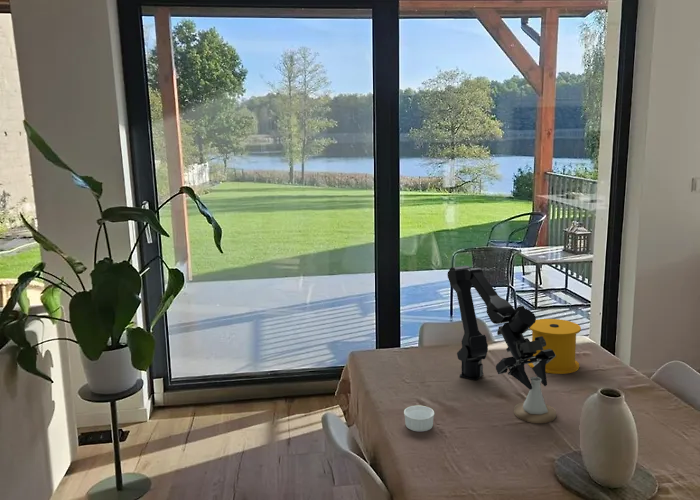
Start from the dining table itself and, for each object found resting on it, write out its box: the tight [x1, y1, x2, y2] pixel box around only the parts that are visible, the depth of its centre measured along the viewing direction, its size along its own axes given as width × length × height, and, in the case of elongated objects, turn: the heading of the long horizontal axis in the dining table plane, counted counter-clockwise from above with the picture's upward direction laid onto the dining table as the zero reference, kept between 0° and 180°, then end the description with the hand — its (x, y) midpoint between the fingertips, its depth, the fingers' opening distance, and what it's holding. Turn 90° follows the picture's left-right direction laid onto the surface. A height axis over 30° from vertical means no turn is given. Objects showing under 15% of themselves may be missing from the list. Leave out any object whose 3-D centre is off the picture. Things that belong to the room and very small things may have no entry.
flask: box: [523, 376, 548, 415], centre depth 173 cm, size 7×7×10 cm
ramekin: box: [403, 405, 435, 433], centre depth 169 cm, size 9×9×4 cm
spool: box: [527, 318, 582, 375], centre depth 211 cm, size 18×18×15 cm
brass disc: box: [513, 401, 557, 424], centre depth 174 cm, size 12×12×1 cm
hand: (538, 387), depth 171 cm, fingers open, 5 cm apart
